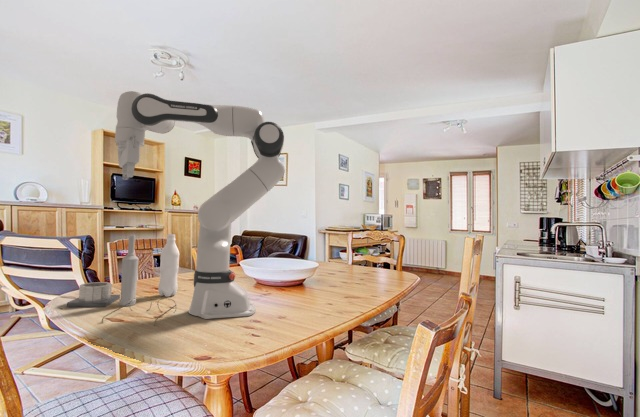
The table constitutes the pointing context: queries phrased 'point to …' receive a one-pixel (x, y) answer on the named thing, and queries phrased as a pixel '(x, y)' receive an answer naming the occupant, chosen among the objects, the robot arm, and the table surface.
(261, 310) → the table surface
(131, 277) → the bottle
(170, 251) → the water bottle
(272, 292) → the table surface
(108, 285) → the collar holder
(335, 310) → the table surface
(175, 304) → the eyeglasses
